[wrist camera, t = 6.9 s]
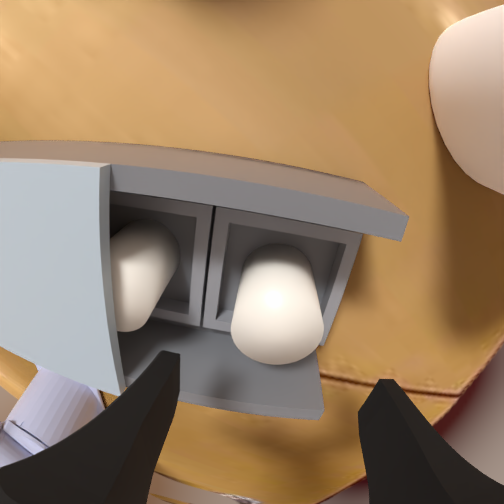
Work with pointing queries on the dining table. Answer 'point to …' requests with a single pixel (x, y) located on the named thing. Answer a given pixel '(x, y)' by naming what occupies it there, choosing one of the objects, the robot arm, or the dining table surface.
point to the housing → (229, 258)
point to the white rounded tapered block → (140, 270)
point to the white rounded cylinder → (277, 307)
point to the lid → (59, 269)
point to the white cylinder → (472, 94)
